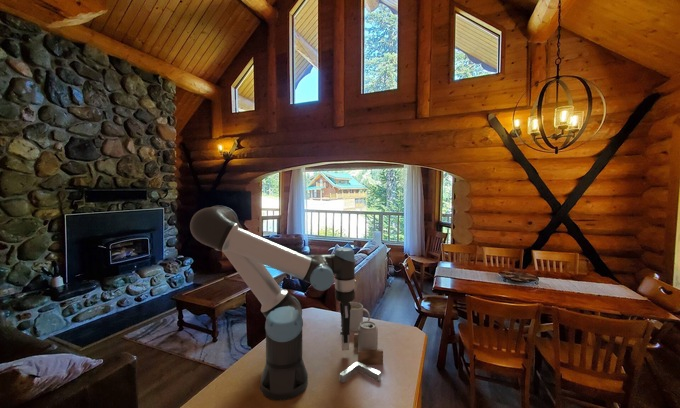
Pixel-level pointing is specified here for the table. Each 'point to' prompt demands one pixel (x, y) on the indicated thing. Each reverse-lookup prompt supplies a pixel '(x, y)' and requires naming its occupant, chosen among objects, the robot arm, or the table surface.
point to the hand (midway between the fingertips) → (345, 349)
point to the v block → (362, 369)
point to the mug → (356, 315)
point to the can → (367, 336)
